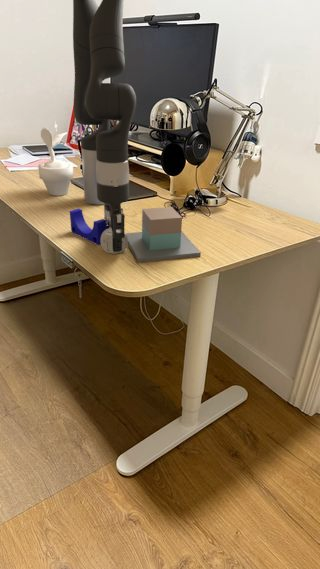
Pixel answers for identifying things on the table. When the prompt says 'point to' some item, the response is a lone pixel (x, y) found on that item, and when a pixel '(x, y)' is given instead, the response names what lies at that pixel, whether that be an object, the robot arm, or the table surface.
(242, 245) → the table surface
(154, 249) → the brick tower
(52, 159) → the potted plant
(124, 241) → the die
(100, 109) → the robot arm
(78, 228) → the blue saddle bracket
